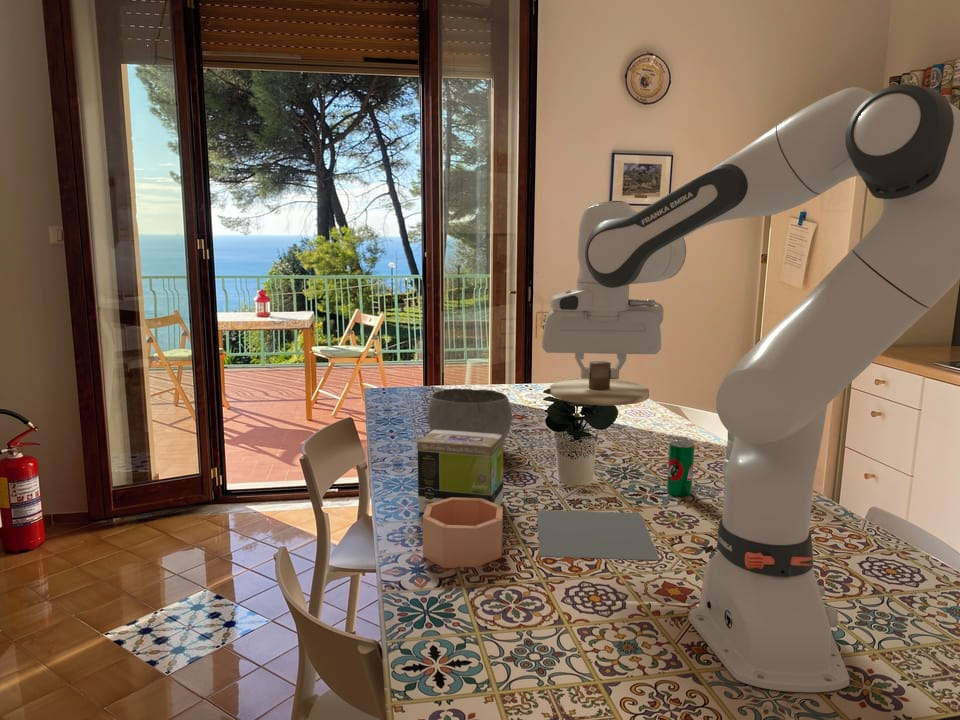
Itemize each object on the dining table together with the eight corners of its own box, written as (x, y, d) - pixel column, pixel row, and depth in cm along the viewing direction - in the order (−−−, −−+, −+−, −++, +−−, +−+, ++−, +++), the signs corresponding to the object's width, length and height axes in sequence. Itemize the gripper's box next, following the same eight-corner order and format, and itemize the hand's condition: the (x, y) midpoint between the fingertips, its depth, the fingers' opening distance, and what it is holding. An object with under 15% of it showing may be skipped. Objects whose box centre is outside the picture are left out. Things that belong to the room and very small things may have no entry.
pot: (500, 569, 114) (501, 529, 113) (419, 567, 115) (419, 526, 114) (502, 535, 127) (503, 498, 126) (430, 533, 128) (429, 496, 127)
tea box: (503, 503, 143) (505, 432, 140) (491, 522, 133) (492, 447, 131) (433, 495, 147) (433, 426, 144) (416, 513, 137) (416, 440, 135)
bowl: (524, 460, 170) (525, 399, 167) (443, 470, 162) (443, 406, 160) (491, 437, 189) (492, 382, 186) (418, 445, 181) (417, 388, 179)
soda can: (692, 499, 145) (696, 443, 143) (667, 497, 146) (670, 442, 144) (690, 491, 150) (693, 436, 148) (665, 489, 151) (668, 435, 149)
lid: (657, 406, 115) (659, 373, 114) (552, 404, 115) (553, 371, 114) (639, 384, 131) (641, 355, 130) (548, 383, 132) (548, 354, 131)
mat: (659, 562, 118) (660, 560, 117) (539, 558, 119) (539, 556, 119) (640, 515, 137) (640, 513, 137) (537, 512, 138) (537, 510, 138)
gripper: (660, 298, 123) (656, 376, 125) (542, 296, 124) (541, 374, 126) (667, 301, 117) (663, 383, 119) (543, 300, 118) (542, 381, 120)
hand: (599, 378), depth 123 cm, fingers closed on lid, 4 cm apart
